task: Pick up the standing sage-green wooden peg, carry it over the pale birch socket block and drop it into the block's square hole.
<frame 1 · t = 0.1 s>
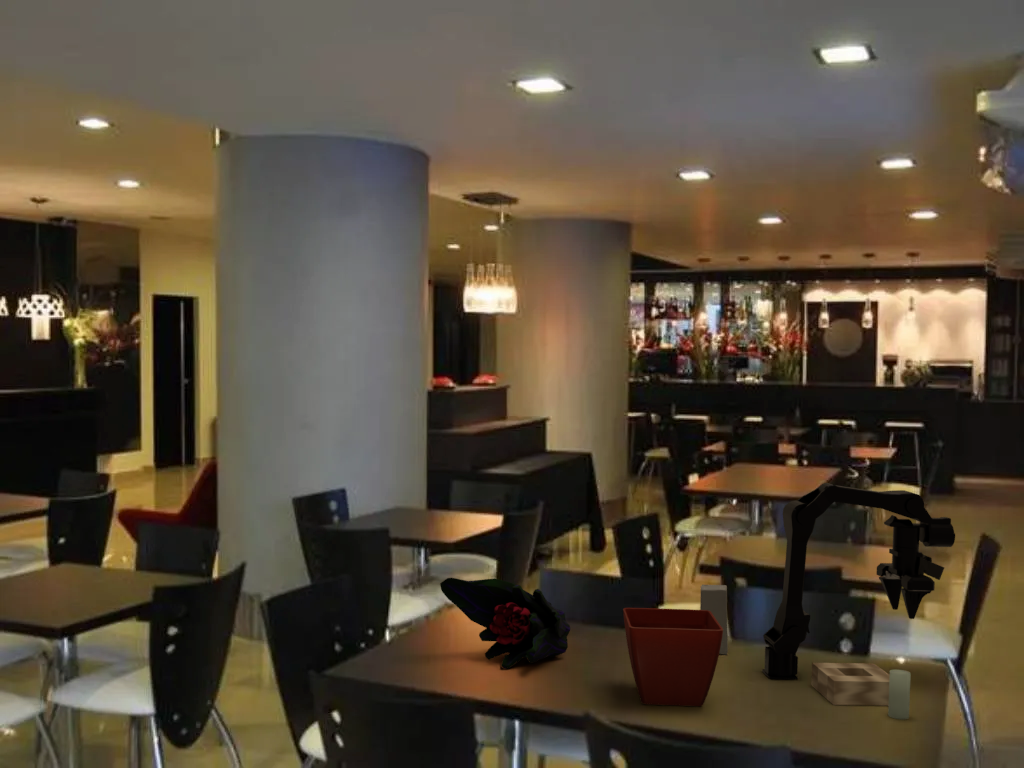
hand: (903, 614, 251), 15 cm above the table, fingers open, 9 cm apart
plant pot: (668, 698, 231), on the table
skincare box: (712, 650, 271), on the table
decorative plant: (514, 663, 255), on the table
sage peg: (898, 716, 223), on the table
socket block: (853, 695, 237), on the table
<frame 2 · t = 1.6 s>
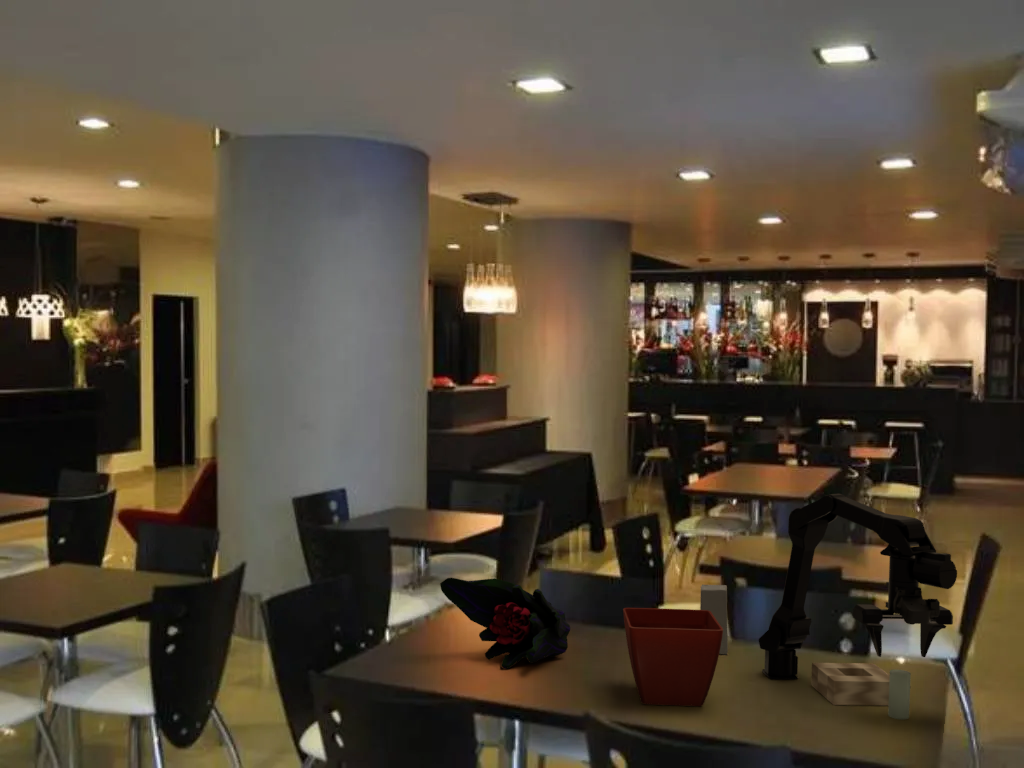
hand: (901, 656, 223), 12 cm above the table, fingers open, 9 cm apart
nothing on the table moved.
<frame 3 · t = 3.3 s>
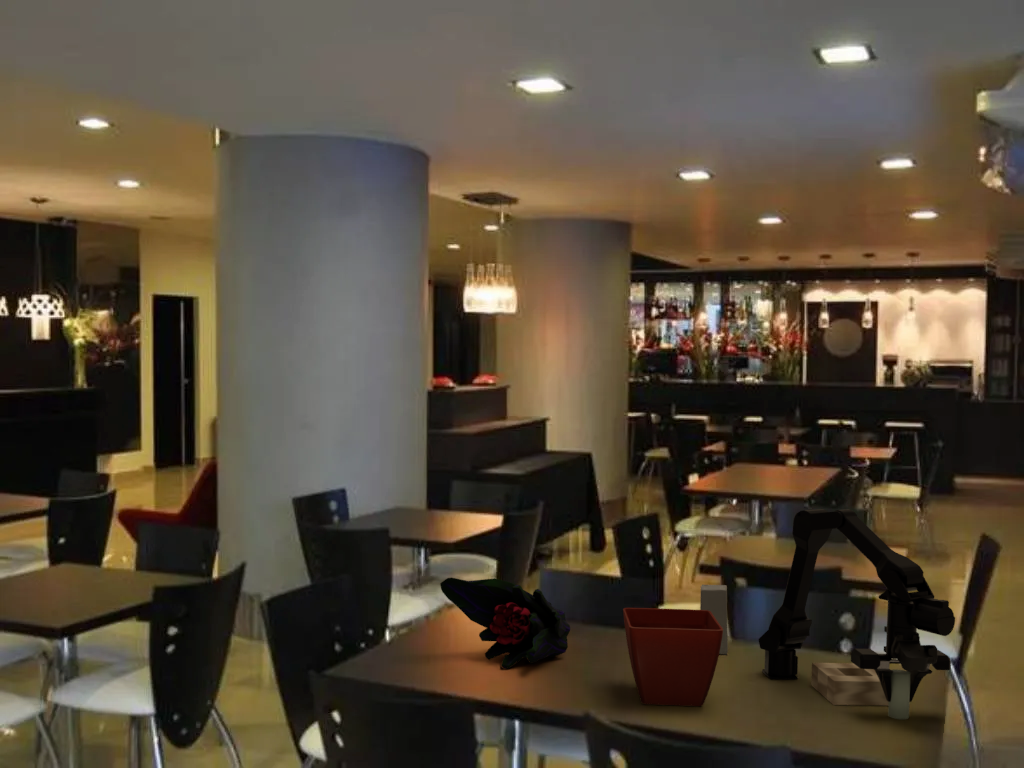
hand: (898, 701, 223), 3 cm above the table, fingers closed on sage peg, 4 cm apart
sage peg: (898, 716, 223), on the table, touching gripper
everything else where it was.
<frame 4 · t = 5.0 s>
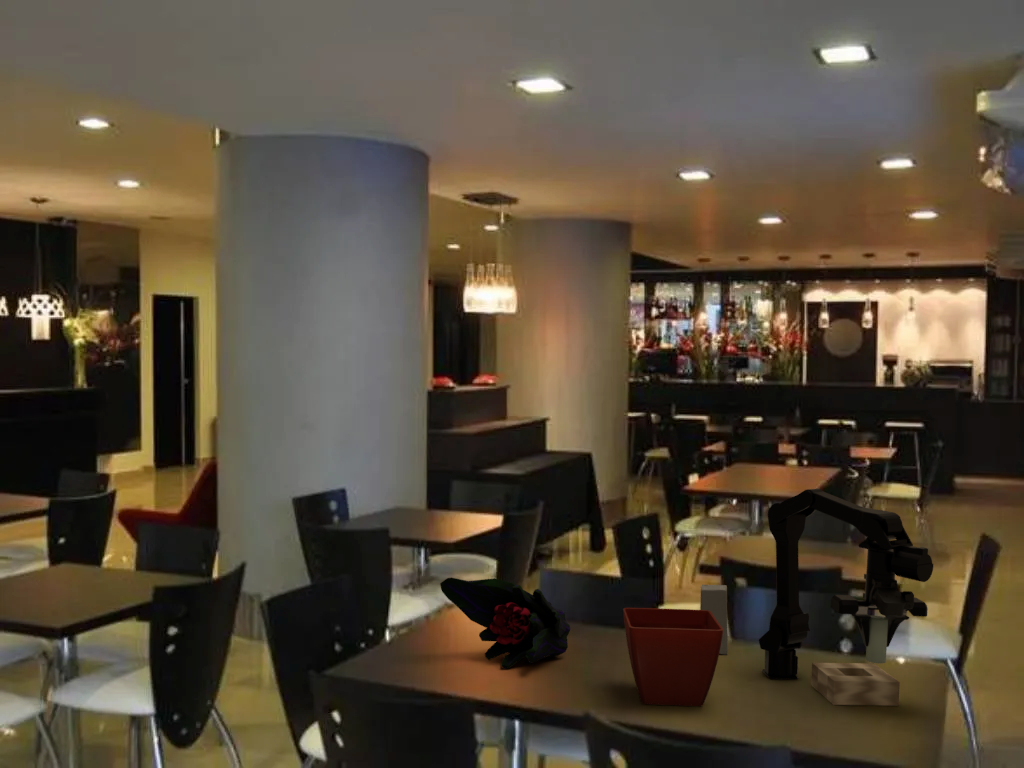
hand: (876, 646, 230), 12 cm above the table, fingers closed on sage peg, 4 cm apart
sage peg: (875, 660, 230), point 9 cm above the table, touching gripper
everything else where it was.
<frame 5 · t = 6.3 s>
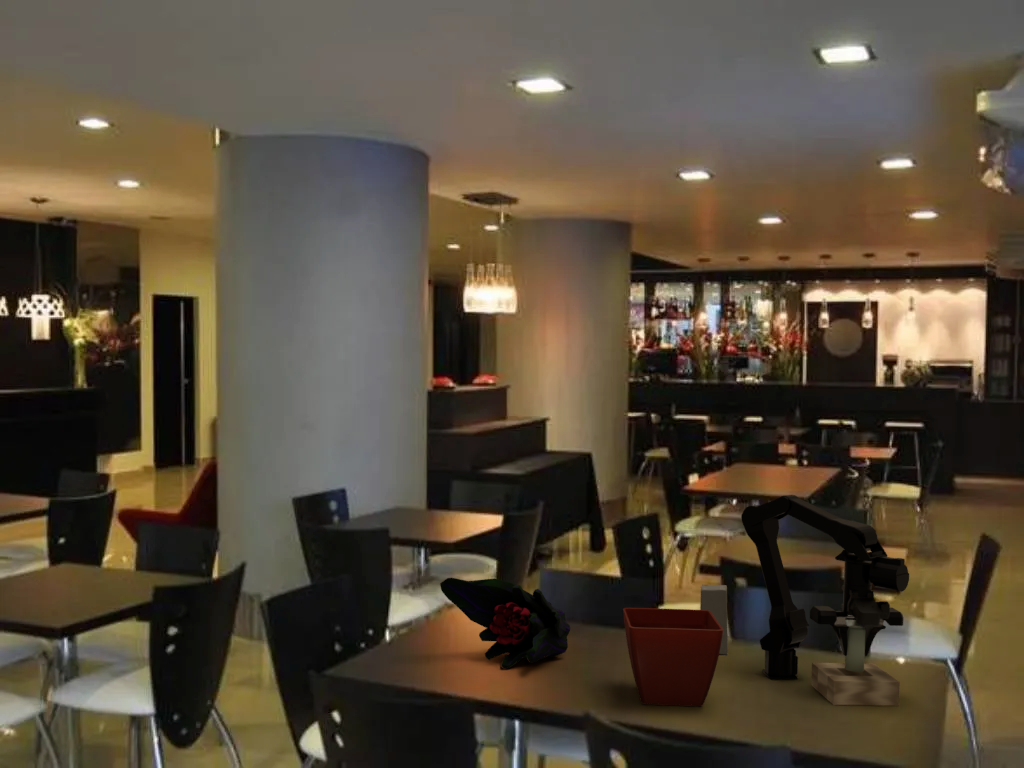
hand: (854, 655, 237), 9 cm above the table, fingers closed on sage peg, 4 cm apart
sage peg: (854, 669, 237), point 6 cm above the table, touching gripper
everything else where it was.
when the fingers open (6 cm above the table, at t = 7.1 s): sage peg drops 3 cm, resting in socket block.
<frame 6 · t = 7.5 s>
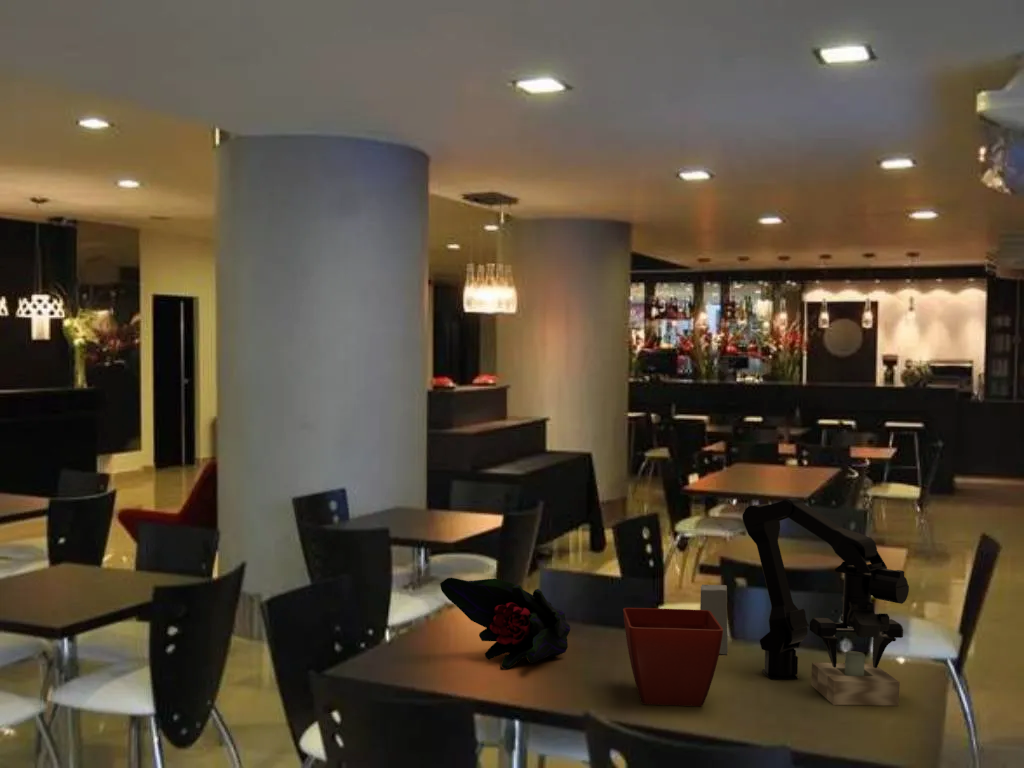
hand: (854, 667, 237), 6 cm above the table, fingers open, 9 cm apart
sage peg: (853, 695, 237), resting in socket block
everything else where it was.
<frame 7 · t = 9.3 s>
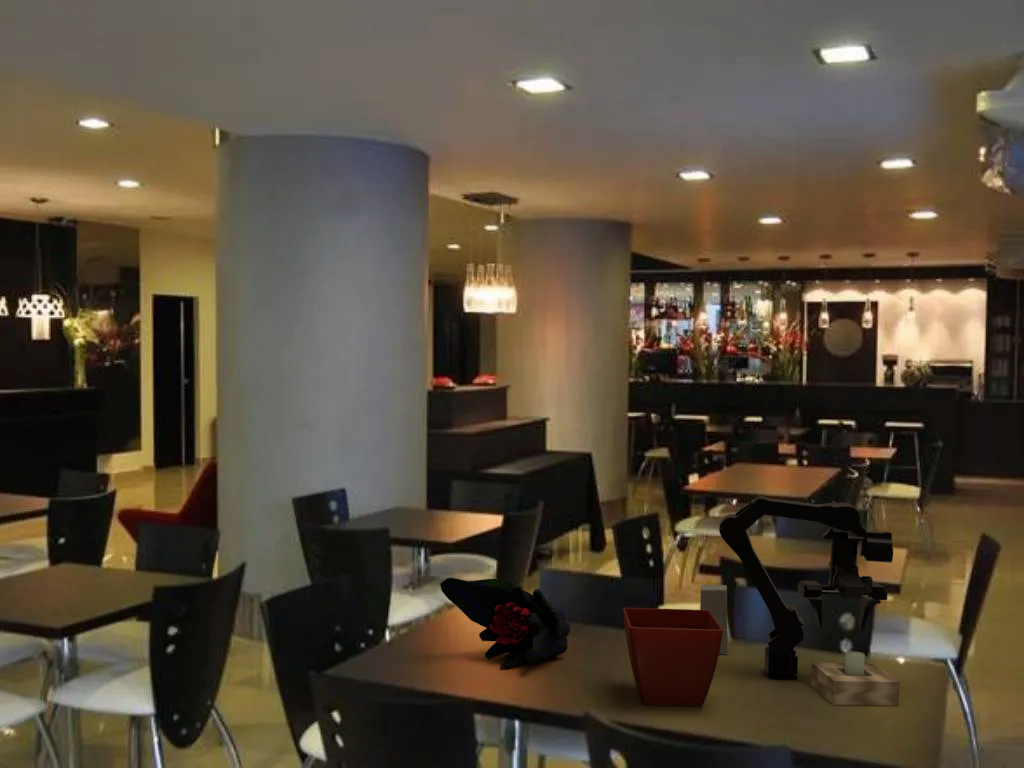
hand: (840, 628, 247), 12 cm above the table, fingers open, 9 cm apart
nothing on the table moved.
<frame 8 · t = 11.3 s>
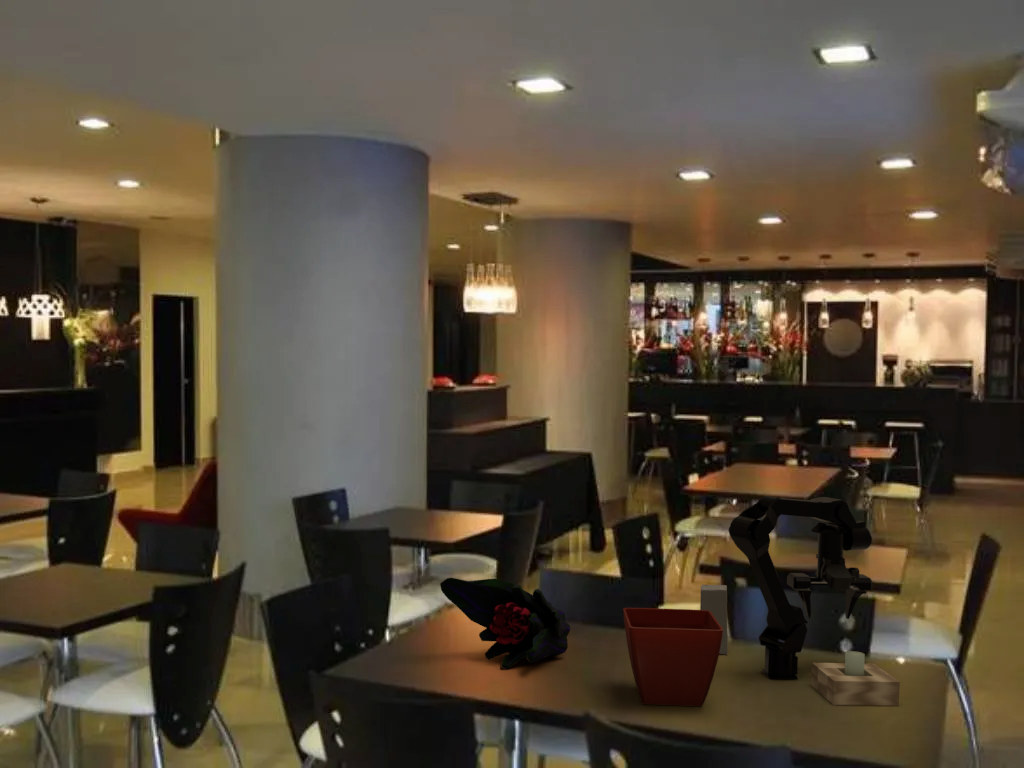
hand: (828, 618, 257), 12 cm above the table, fingers open, 9 cm apart
nothing on the table moved.
at the end: sage peg 0.0 cm off-centre on the socket block, point 0.0 cm above the socket block's base; sage peg tilted 0°; the gripper is holding nothing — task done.
